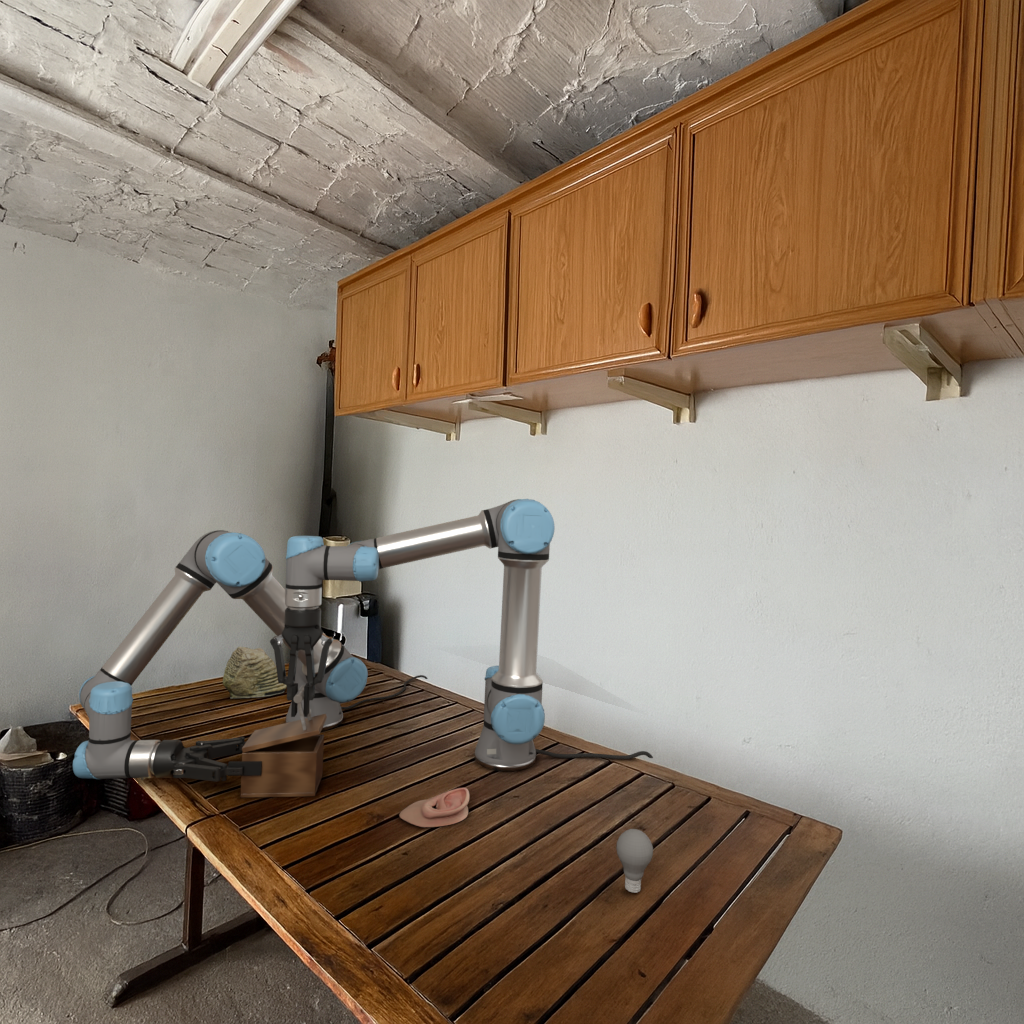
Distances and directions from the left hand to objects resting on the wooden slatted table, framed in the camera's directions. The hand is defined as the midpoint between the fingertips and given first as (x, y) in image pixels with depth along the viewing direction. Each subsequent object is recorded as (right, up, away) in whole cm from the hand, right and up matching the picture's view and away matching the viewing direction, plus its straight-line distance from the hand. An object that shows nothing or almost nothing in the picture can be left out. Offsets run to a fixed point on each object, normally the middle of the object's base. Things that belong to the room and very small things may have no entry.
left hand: (267, 757), depth 137 cm
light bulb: (+73, -10, -32) cm, 80 cm away
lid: (+4, +5, 0) cm, 6 cm away
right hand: (+7, +9, +1) cm, 11 cm away
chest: (+3, -6, +1) cm, 7 cm away
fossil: (-28, -4, +61) cm, 67 cm away
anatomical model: (+37, -8, -9) cm, 39 cm away
